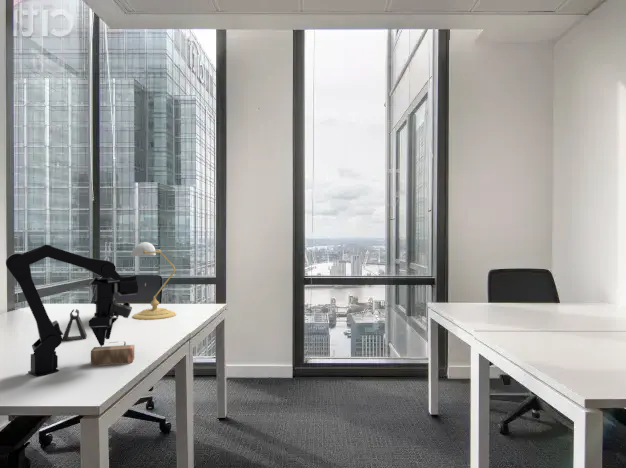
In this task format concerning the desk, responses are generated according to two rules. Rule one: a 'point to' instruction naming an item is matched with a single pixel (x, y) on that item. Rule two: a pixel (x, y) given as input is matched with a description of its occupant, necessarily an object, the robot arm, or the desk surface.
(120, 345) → the phone case
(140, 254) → the desk lamp
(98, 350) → the wooden block
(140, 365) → the desk surface
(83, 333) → the phone stand
